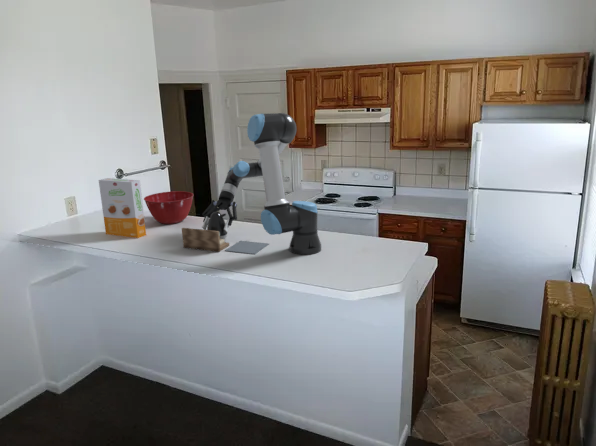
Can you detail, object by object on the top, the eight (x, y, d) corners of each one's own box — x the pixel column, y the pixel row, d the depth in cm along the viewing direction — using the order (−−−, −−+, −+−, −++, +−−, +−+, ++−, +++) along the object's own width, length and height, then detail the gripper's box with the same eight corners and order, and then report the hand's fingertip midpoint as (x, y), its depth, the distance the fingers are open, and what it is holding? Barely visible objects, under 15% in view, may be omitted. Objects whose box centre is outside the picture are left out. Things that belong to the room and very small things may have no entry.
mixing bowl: (166, 230, 258) (164, 203, 254) (136, 223, 275) (133, 197, 271) (205, 219, 280) (203, 194, 276) (175, 213, 297) (172, 189, 292)
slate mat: (269, 244, 230) (269, 243, 230) (254, 254, 216) (254, 253, 216) (240, 241, 236) (240, 240, 236) (224, 251, 222) (224, 250, 221)
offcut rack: (229, 245, 229) (228, 226, 227) (218, 251, 220) (217, 231, 218) (194, 241, 237) (193, 223, 234) (183, 247, 228) (181, 228, 225)
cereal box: (146, 235, 250) (139, 180, 243) (138, 238, 245) (131, 182, 237) (114, 231, 259) (107, 178, 251) (105, 234, 254) (98, 180, 246)
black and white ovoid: (224, 243, 233) (222, 214, 228) (204, 243, 235) (202, 213, 231) (230, 237, 242) (229, 209, 238) (212, 237, 244) (210, 209, 240)
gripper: (250, 199, 243) (238, 235, 233) (210, 196, 251) (197, 231, 242) (245, 191, 237) (232, 227, 227) (204, 188, 245) (190, 224, 236)
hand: (214, 229), depth 234 cm, fingers open, 12 cm apart
